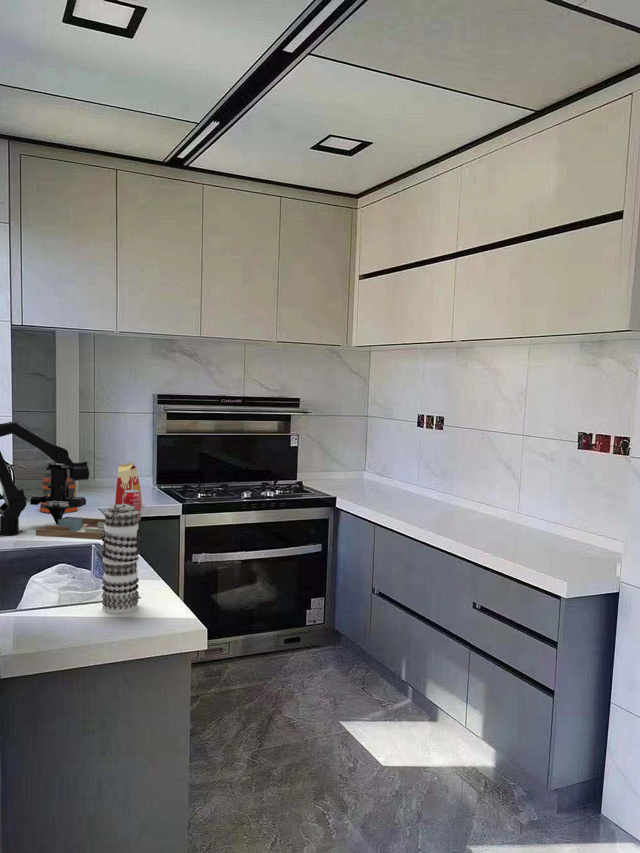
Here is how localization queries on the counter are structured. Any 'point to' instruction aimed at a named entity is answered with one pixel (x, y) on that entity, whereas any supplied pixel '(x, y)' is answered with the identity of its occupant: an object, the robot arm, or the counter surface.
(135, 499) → the soda can
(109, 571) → the decorative candle
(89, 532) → the brown bars
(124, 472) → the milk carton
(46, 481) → the beer stein
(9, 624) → the counter surface
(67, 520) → the slate block
